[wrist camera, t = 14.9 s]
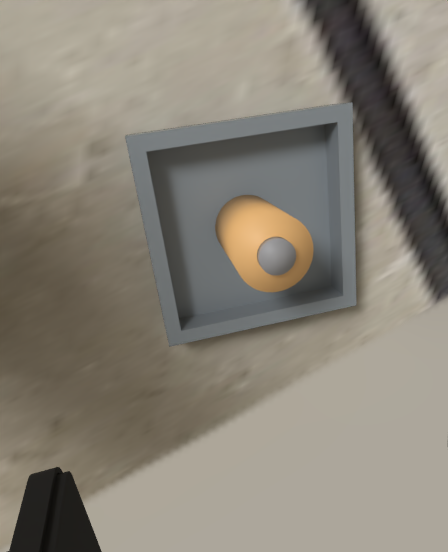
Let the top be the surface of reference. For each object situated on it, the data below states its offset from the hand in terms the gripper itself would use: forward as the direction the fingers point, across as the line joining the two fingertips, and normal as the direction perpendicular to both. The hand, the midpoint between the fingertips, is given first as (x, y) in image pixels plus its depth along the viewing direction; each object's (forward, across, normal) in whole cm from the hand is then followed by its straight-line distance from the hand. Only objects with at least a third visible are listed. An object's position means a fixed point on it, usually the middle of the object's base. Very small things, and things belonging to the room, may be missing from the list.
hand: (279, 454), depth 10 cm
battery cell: (+20, -5, 0) cm, 21 cm away
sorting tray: (+21, -5, 0) cm, 21 cm away
